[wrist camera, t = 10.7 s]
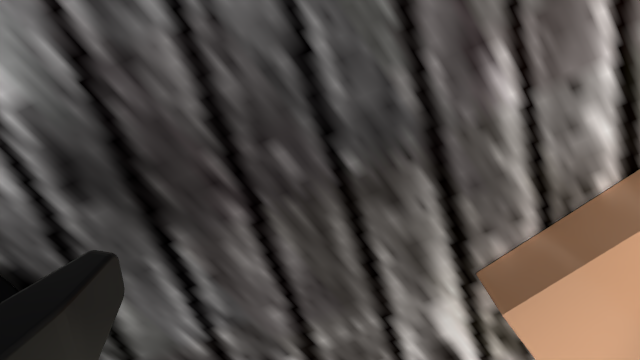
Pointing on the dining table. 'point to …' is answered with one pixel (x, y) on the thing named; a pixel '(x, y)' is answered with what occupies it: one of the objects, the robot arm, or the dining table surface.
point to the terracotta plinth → (577, 281)
